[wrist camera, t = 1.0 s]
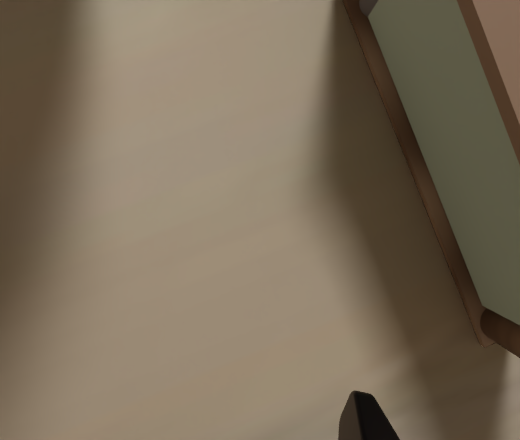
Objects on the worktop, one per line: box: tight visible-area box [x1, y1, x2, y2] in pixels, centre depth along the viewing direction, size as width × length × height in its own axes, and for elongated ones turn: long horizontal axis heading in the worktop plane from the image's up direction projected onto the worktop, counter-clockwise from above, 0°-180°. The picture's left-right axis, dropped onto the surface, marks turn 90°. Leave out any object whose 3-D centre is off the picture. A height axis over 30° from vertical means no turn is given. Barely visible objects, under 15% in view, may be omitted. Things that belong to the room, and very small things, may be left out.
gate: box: [359, 0, 520, 325], centre depth 18 cm, size 17×2×9 cm, turn 23°
